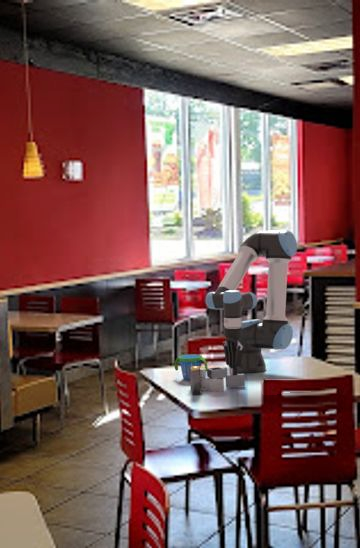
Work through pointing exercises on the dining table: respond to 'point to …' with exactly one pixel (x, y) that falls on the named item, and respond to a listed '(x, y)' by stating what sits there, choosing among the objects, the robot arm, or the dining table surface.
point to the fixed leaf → (211, 382)
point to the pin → (196, 380)
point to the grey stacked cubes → (230, 379)
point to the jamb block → (191, 377)
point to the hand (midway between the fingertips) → (233, 382)
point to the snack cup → (189, 364)
